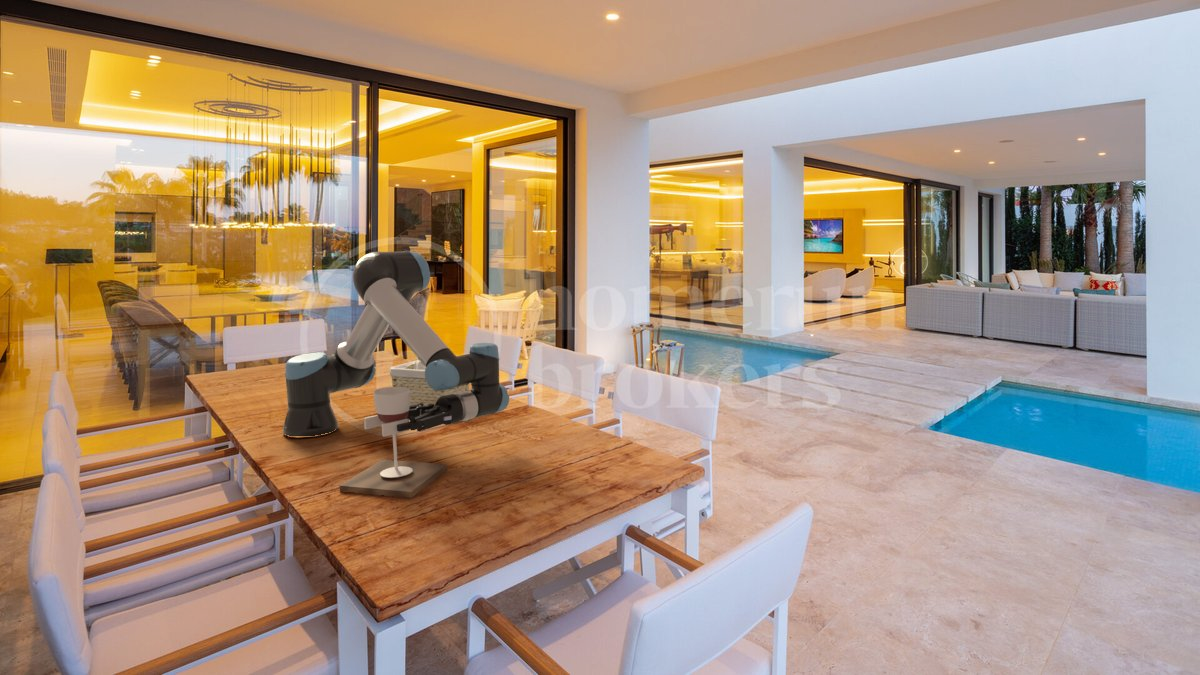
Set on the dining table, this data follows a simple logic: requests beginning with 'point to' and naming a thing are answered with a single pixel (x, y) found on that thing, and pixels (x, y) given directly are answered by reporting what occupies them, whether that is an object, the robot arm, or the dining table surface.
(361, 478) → the walnut board
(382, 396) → the wineglass
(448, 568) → the dining table surface
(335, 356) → the robot arm
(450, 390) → the storage basket
